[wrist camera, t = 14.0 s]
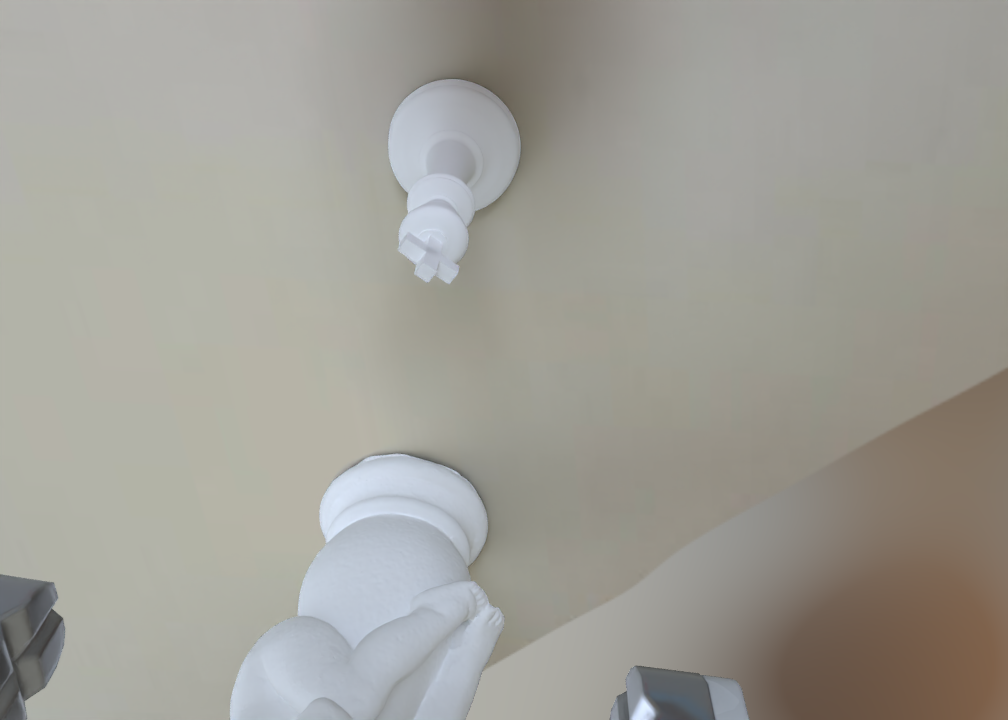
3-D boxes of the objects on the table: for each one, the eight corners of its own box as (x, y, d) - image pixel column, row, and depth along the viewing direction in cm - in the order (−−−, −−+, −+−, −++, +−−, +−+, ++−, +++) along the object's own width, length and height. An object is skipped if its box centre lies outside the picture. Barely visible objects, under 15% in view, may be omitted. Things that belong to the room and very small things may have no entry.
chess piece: (437, 49, 26) (397, 144, 18) (547, 134, 28) (557, 258, 20) (363, 158, 29) (298, 287, 20) (469, 232, 30) (448, 378, 22)
